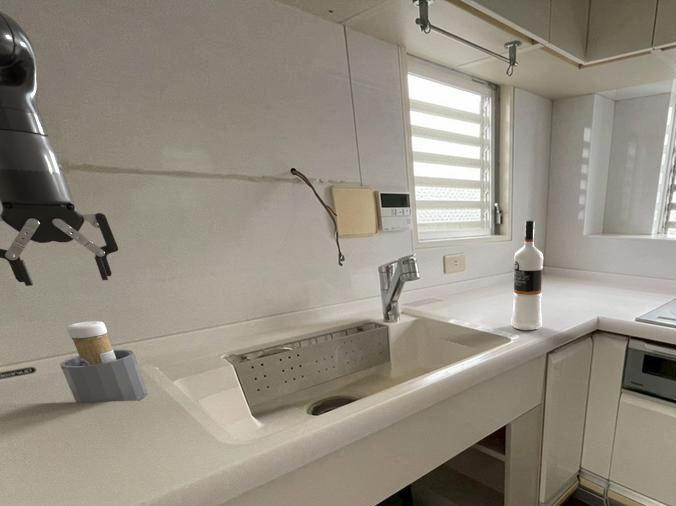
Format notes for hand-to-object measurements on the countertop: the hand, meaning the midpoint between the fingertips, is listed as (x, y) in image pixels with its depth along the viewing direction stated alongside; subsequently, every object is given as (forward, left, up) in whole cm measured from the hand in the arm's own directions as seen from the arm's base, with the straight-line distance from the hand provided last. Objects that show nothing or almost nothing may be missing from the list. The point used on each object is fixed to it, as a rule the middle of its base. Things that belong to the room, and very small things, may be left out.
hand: (68, 282), depth 64 cm
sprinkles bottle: (0, 0, -20) cm, 20 cm away
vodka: (+81, +47, -21) cm, 96 cm away
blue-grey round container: (0, 0, -21) cm, 21 cm away
